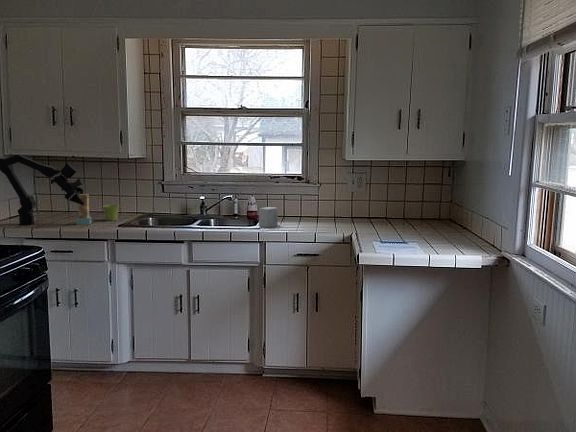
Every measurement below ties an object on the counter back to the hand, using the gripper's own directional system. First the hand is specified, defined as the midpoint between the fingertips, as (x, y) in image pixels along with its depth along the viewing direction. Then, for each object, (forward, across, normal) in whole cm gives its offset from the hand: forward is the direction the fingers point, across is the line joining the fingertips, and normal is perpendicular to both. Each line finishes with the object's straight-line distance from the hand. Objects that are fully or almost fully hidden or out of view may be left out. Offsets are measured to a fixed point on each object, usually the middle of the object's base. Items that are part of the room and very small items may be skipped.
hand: (85, 203), depth 301 cm
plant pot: (+16, +12, 0) cm, 21 cm away
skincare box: (+81, -13, -65) cm, 105 cm away
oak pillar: (+5, 0, +6) cm, 8 cm away
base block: (+8, 0, +9) cm, 12 cm away
